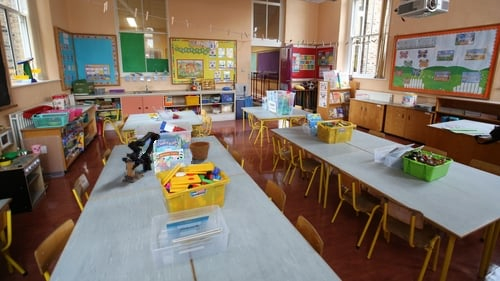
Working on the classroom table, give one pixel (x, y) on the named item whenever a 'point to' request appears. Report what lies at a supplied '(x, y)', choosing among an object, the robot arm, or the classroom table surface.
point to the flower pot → (199, 150)
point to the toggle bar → (130, 168)
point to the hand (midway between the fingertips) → (129, 169)
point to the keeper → (132, 178)
